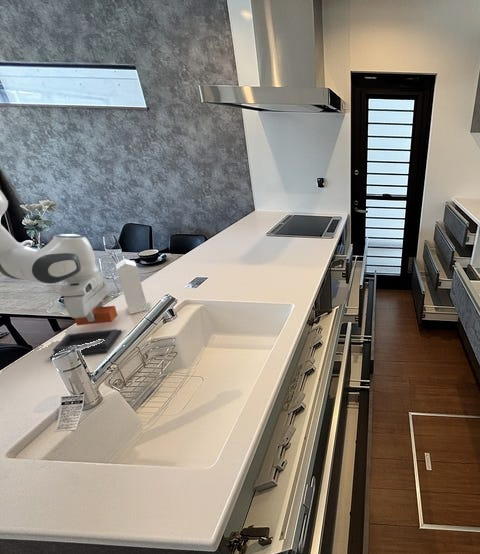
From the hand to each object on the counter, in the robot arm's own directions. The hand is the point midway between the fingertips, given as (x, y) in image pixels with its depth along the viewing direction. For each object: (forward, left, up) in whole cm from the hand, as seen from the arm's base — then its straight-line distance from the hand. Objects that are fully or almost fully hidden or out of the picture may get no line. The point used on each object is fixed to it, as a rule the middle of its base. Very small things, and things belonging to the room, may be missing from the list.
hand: (96, 316), depth 108 cm
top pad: (0, 0, -2) cm, 2 cm away
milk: (+9, +11, -5) cm, 15 cm away
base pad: (+2, -12, -4) cm, 13 cm away
